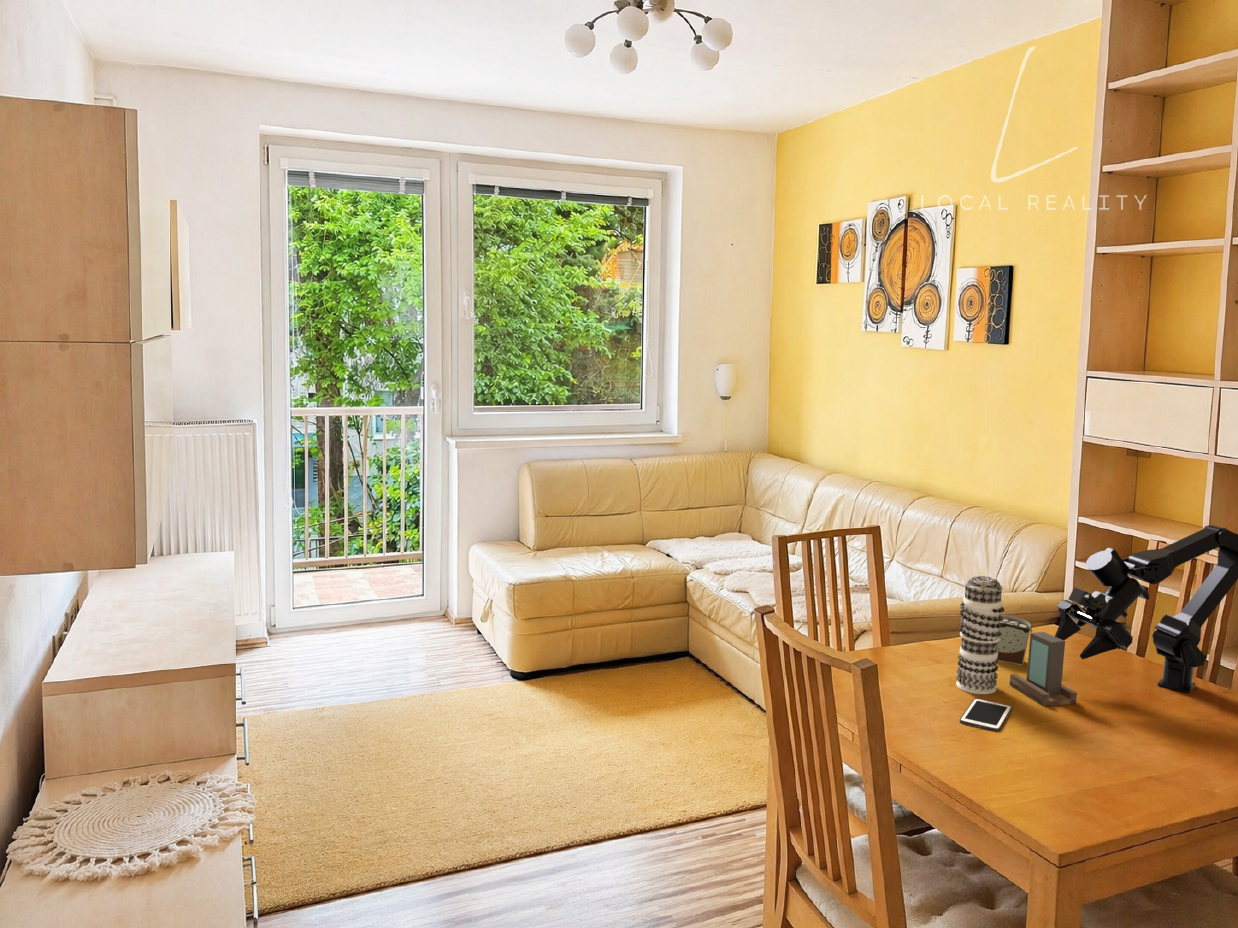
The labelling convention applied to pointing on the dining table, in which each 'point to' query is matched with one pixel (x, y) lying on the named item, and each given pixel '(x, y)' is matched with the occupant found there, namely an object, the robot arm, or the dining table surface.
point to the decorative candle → (979, 635)
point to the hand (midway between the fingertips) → (1067, 650)
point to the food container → (1013, 639)
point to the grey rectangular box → (1046, 662)
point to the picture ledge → (1042, 692)
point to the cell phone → (986, 714)
